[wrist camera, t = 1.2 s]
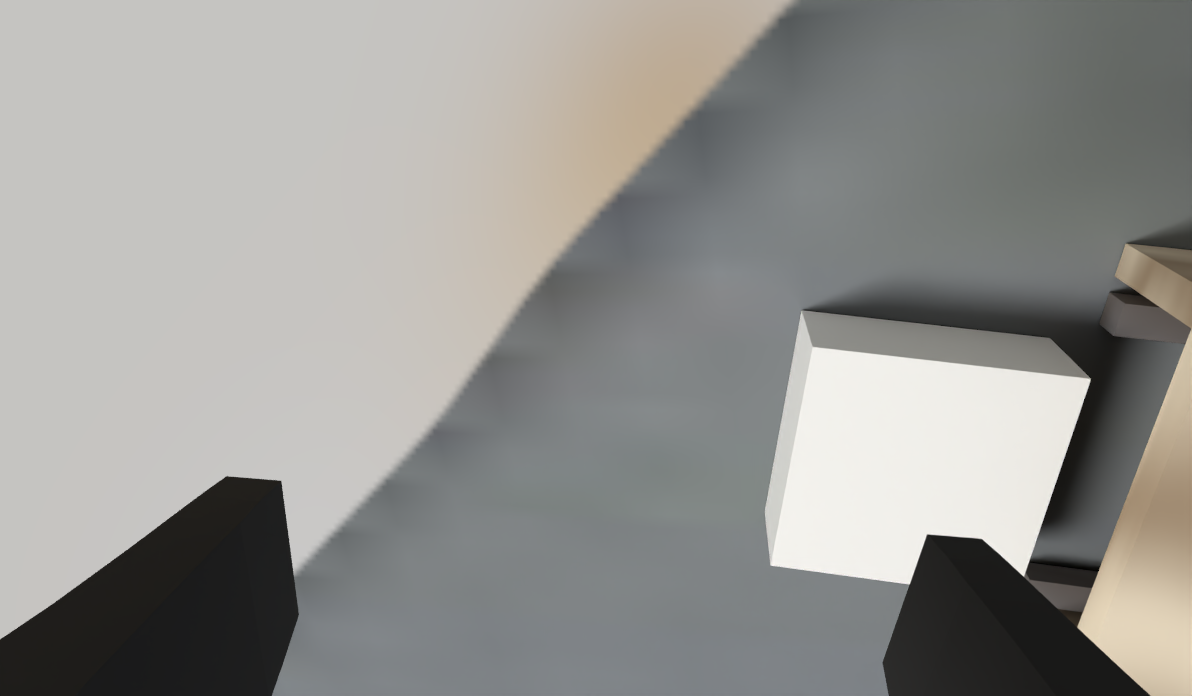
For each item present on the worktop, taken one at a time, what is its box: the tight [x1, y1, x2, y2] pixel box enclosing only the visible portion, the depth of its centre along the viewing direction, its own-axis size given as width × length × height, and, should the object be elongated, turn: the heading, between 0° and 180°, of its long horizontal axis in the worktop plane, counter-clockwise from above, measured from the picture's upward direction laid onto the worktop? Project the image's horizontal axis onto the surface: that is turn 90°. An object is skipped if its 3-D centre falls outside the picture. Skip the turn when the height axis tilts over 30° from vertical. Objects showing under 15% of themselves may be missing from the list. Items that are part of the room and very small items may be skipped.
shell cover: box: [765, 310, 1091, 584], centre depth 21 cm, size 6×6×2 cm
